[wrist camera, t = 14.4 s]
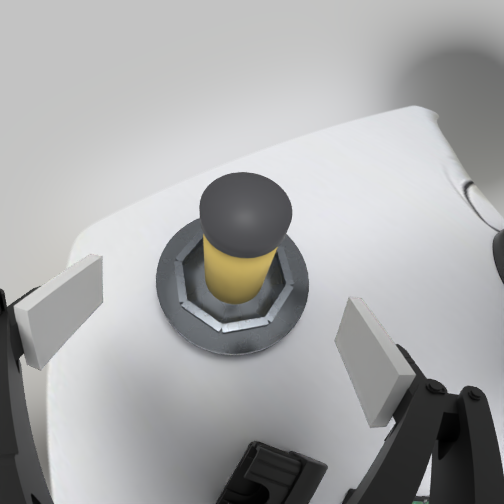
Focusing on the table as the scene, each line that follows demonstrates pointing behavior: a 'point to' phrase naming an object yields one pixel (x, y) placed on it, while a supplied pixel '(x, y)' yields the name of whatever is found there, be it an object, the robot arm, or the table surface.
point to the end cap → (273, 477)
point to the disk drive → (418, 503)
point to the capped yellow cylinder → (241, 233)
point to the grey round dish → (223, 314)
